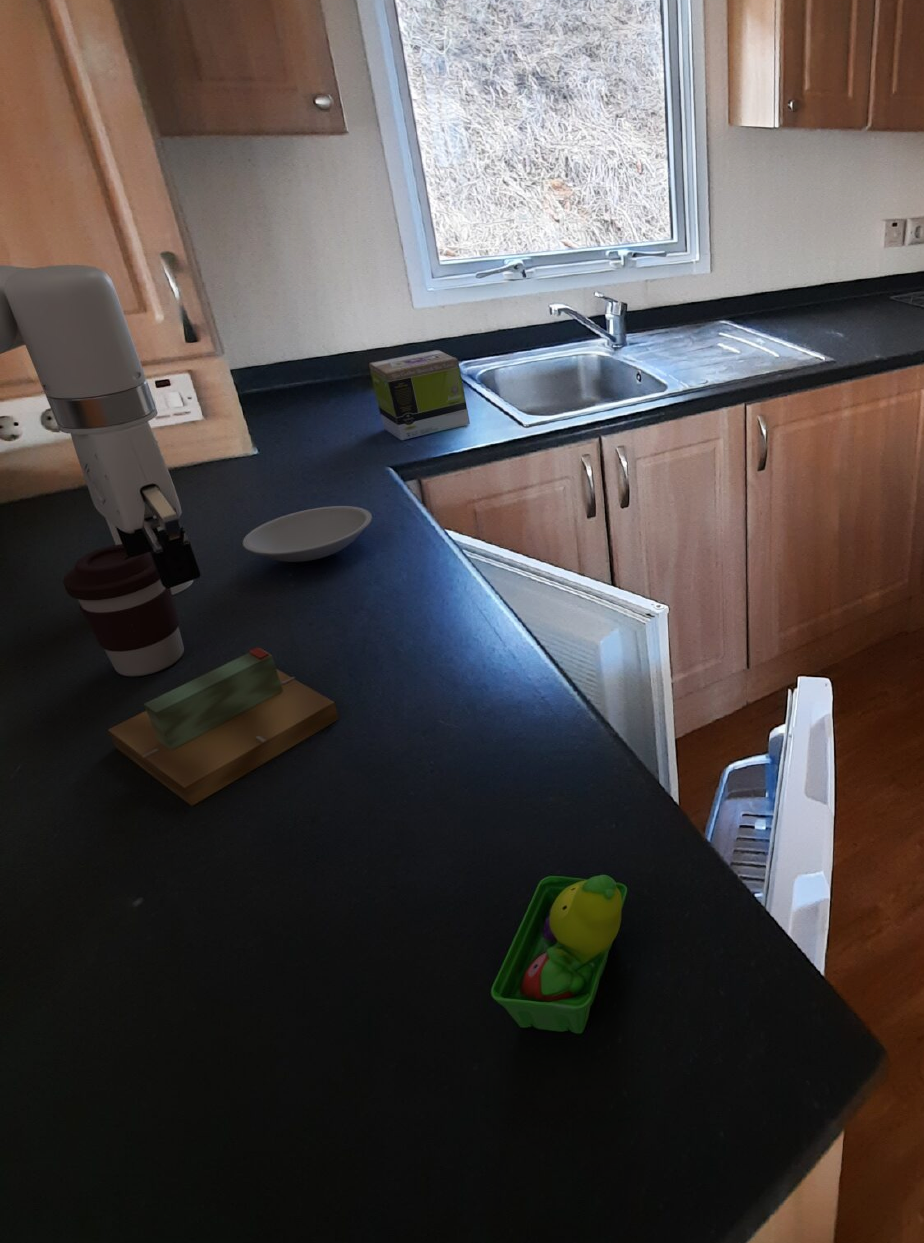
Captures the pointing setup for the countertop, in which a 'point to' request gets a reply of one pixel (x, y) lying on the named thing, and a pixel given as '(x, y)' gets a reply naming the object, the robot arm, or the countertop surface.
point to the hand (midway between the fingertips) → (163, 566)
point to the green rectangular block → (213, 698)
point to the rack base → (227, 741)
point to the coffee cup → (127, 609)
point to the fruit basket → (560, 952)
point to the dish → (308, 533)
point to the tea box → (419, 394)
